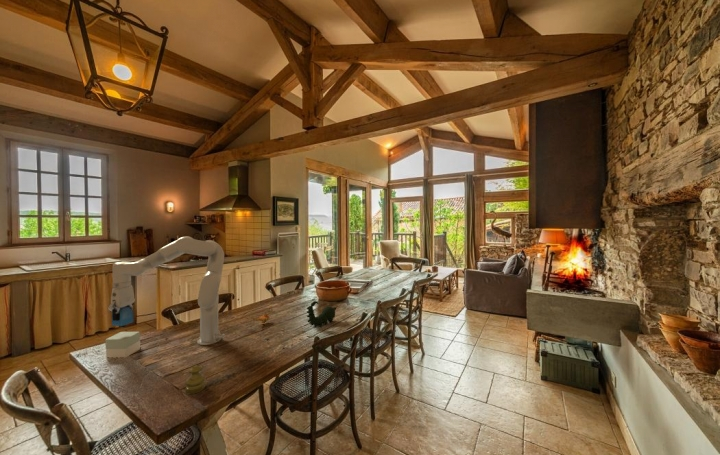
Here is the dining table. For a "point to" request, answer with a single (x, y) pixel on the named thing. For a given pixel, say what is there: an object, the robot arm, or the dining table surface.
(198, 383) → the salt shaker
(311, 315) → the toy figurine
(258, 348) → the dining table surface
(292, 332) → the dining table surface
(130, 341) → the top block
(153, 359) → the dining table surface
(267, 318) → the magic lamp
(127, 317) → the perfume bottle
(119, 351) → the bottom block
